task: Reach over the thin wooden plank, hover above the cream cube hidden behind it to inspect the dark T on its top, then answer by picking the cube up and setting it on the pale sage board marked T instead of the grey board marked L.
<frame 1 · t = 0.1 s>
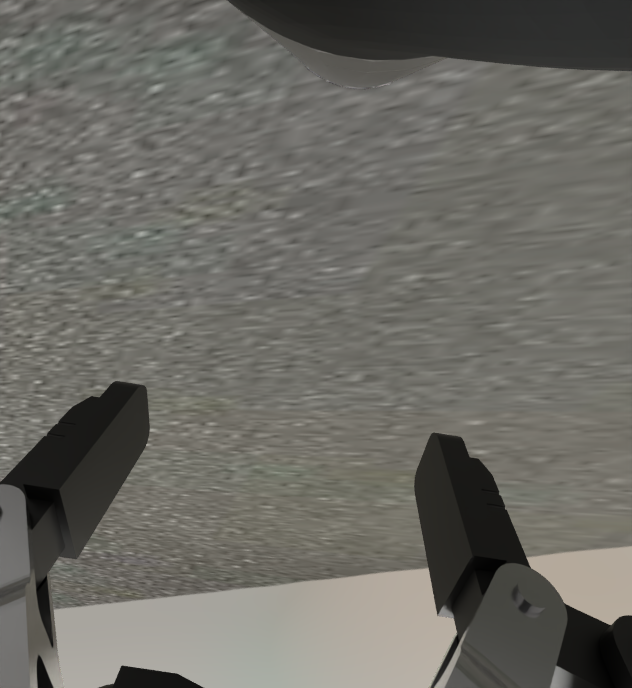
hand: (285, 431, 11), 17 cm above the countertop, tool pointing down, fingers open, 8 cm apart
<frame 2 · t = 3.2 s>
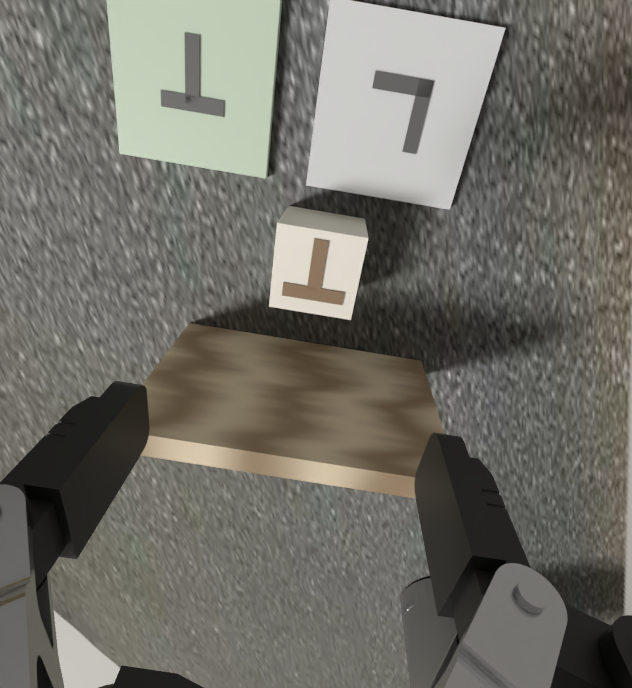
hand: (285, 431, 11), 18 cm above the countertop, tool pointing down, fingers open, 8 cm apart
board T: (196, 79, 23), on the countertop
thin wooden plank: (304, 350, 31), on the countertop
cube: (320, 249, 27), on the countertop
board L: (395, 114, 23), on the countertop
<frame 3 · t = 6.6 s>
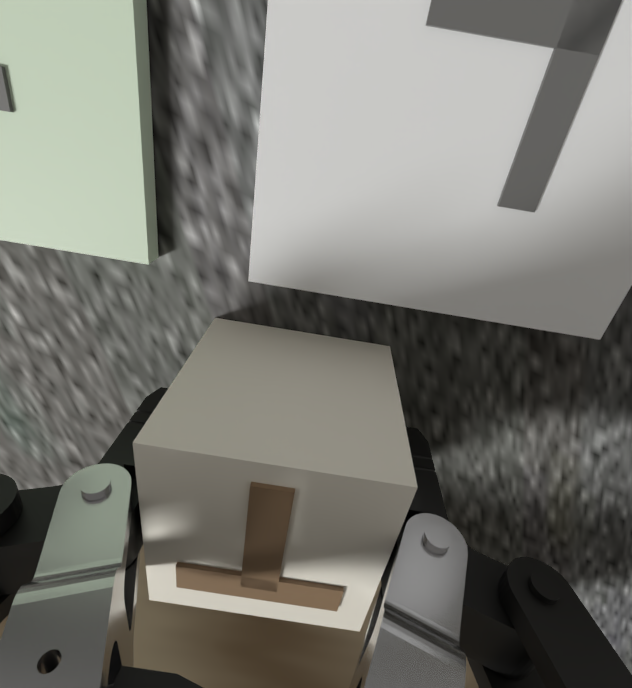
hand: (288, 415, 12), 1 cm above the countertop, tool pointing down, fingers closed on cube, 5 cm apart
thin wooden plank: (268, 554, 16), on the countertop
cube: (292, 401, 12), on the countertop, touching gripper
board L: (482, 105, 8), on the countertop
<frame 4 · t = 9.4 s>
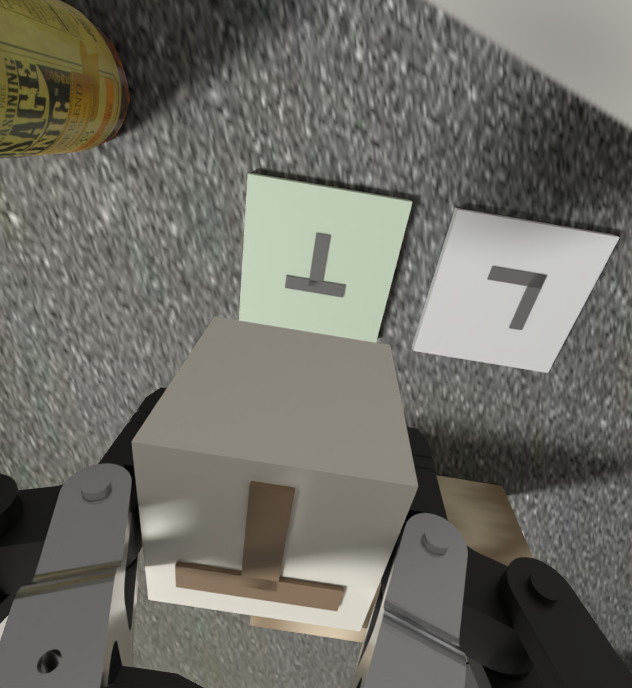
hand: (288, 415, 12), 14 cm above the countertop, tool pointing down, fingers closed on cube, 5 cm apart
board T: (318, 264, 24), on the countertop
thin wooden plank: (390, 474, 32), on the countertop
cube: (292, 400, 12), point 14 cm above the countertop, touching gripper
board L: (503, 295, 24), on the countertop
sauce bottle: (82, 80, 20), on the countertop
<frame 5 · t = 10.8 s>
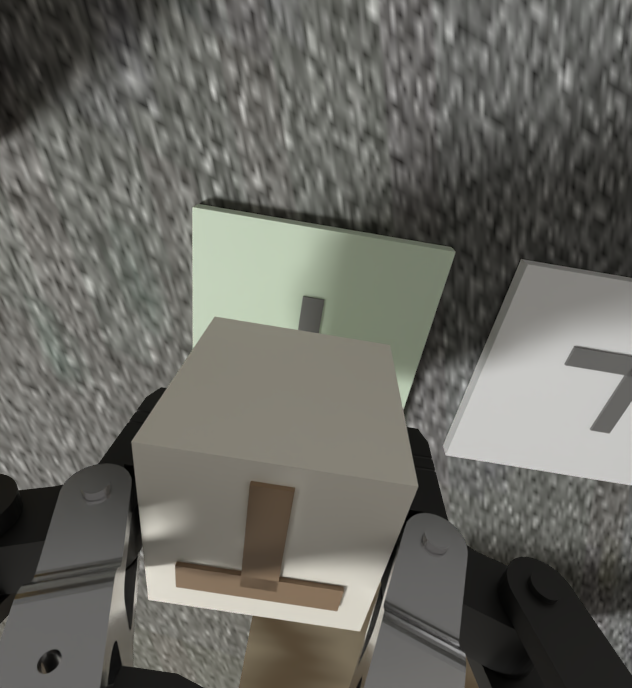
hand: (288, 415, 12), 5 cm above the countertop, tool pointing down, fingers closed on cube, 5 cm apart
board T: (307, 336, 16), on the countertop
thin wooden plank: (406, 592, 24), on the countertop
cube: (292, 400, 12), point 4 cm above the countertop, touching gripper
board L: (584, 382, 16), on the countertop
when the fingers open (3 cm above the countertop, at t = 12.2 s): cube drops 1 cm, resting on board T.
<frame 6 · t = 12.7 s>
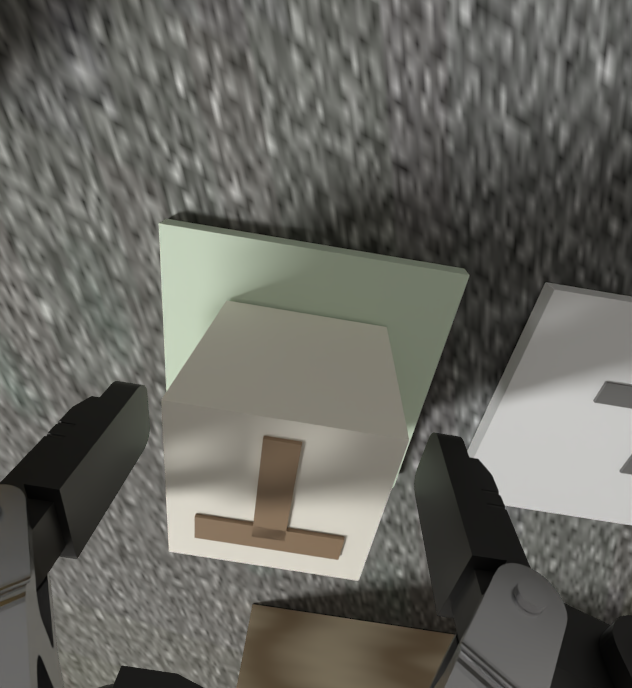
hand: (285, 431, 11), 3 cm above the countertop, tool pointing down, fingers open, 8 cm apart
board T: (297, 368, 14), on the countertop
thin wooden plank: (410, 635, 22), on the countertop
cube: (296, 379, 14), point 1 cm above the countertop, touching board T
board L: (613, 419, 14), on the countertop
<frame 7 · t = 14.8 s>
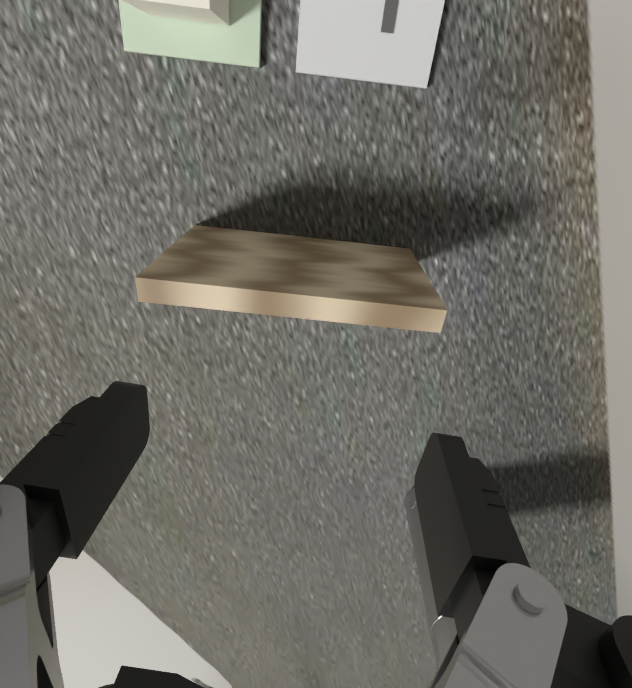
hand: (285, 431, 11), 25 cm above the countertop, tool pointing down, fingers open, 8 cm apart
thin wooden plank: (302, 245, 34), on the countertop
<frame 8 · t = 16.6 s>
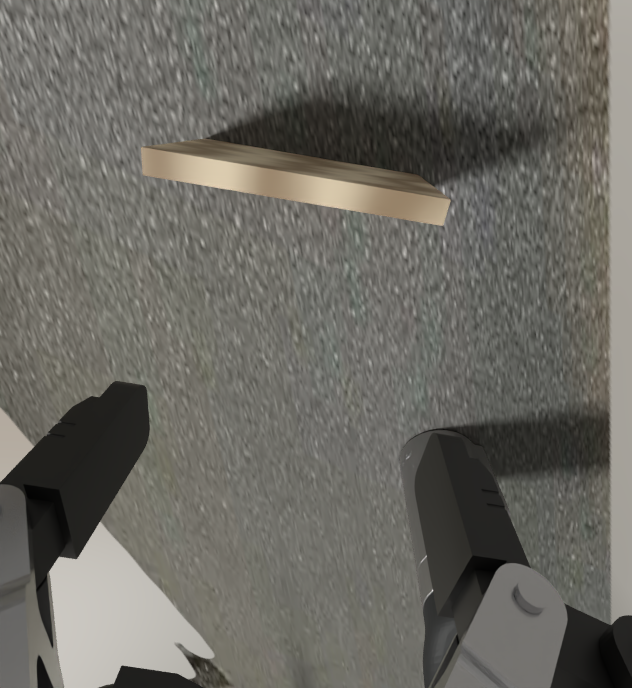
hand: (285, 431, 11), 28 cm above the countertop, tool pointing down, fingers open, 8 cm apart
thin wooden plank: (310, 166, 34), on the countertop
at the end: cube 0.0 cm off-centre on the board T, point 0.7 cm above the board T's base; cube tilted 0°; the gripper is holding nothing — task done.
